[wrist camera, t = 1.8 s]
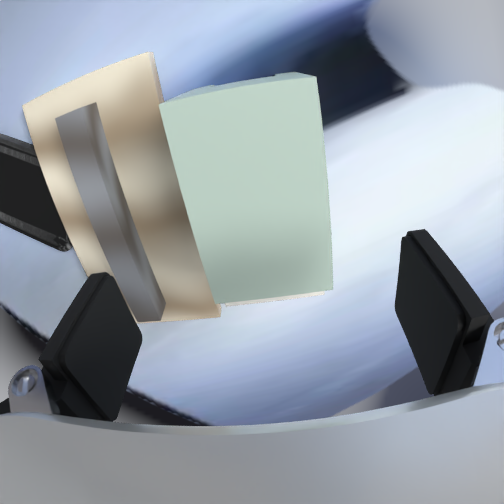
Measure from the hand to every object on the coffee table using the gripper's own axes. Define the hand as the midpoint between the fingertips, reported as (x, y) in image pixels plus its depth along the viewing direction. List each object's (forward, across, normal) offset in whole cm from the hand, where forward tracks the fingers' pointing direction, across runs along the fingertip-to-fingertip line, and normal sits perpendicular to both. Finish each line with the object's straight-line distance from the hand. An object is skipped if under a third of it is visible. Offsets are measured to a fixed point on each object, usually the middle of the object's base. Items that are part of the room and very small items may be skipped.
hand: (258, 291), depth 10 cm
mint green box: (+12, 0, -1) cm, 12 cm away
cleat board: (+12, +10, +1) cm, 16 cm away
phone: (+13, +20, -4) cm, 24 cm away
